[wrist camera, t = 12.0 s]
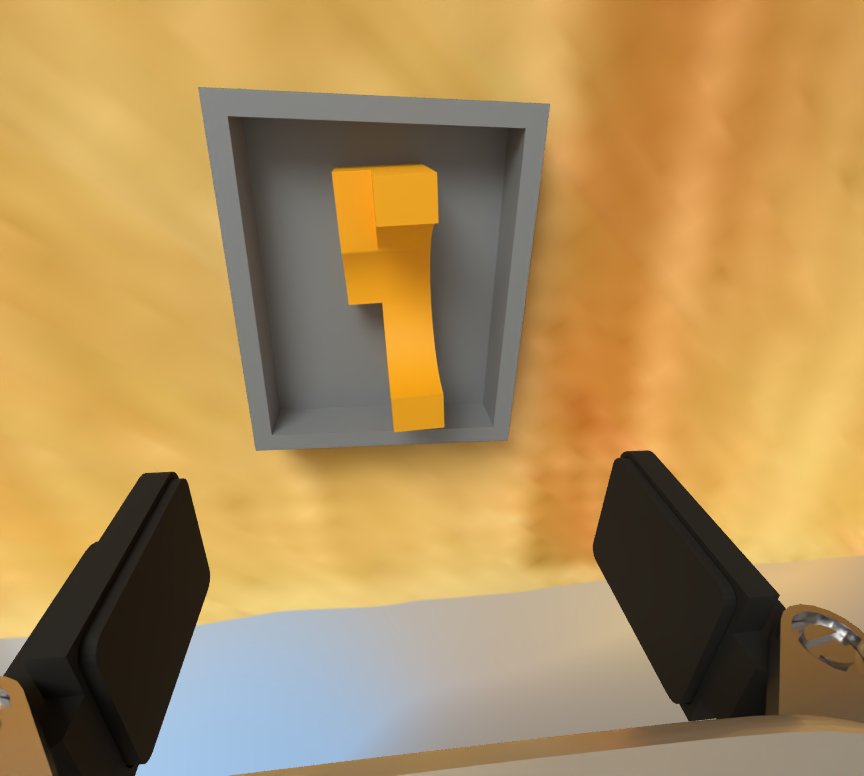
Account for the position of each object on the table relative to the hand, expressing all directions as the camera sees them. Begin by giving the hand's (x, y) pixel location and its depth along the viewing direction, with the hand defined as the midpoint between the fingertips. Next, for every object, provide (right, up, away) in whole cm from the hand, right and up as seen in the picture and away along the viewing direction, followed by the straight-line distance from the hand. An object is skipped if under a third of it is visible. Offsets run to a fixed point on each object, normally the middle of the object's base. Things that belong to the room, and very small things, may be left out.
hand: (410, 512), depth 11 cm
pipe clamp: (-2, +9, +17) cm, 19 cm away
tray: (-2, +9, +18) cm, 20 cm away
